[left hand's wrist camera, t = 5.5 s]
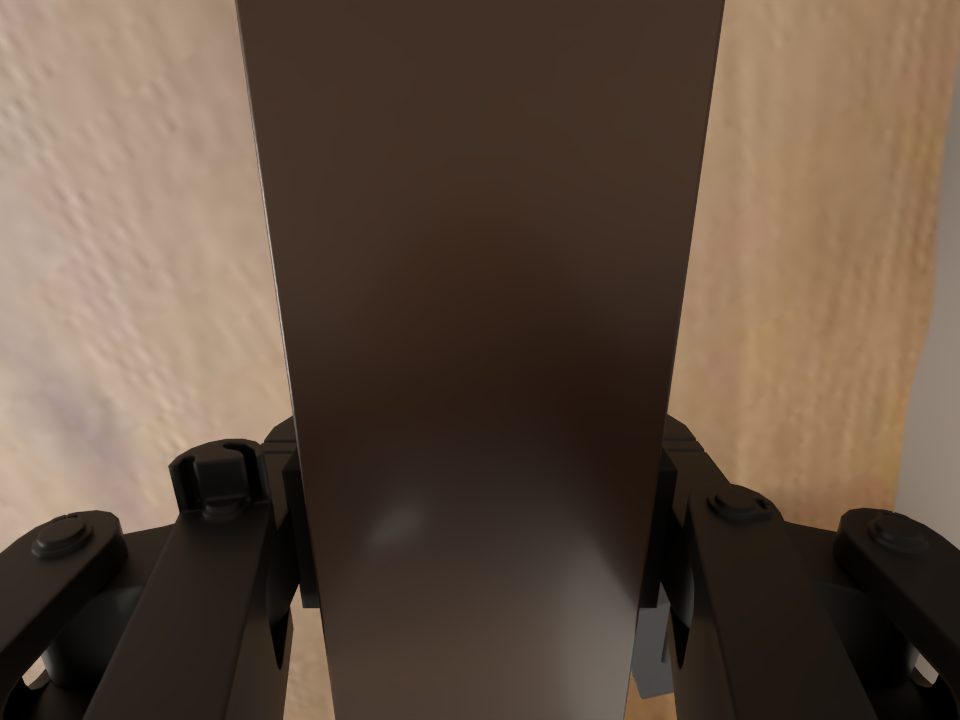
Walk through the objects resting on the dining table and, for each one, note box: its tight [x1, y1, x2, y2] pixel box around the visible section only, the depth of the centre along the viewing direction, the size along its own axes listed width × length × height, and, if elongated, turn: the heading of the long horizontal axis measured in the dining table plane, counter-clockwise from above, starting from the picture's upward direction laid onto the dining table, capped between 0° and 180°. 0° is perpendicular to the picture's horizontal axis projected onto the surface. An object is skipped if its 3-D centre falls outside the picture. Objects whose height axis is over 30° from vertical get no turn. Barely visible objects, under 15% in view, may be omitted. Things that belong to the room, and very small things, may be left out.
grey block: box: [631, 583, 674, 699], centre depth 24 cm, size 5×5×5 cm
